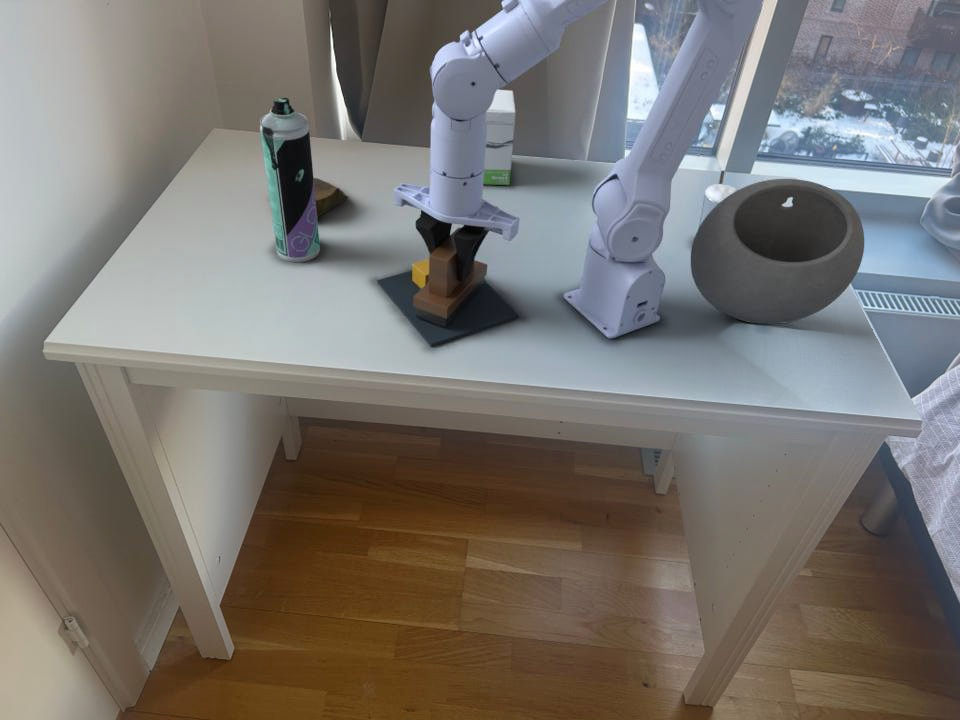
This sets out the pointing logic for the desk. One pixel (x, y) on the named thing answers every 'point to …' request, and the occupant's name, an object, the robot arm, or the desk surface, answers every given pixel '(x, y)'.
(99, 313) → the desk surface
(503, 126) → the ink box
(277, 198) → the spray can
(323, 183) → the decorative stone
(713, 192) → the milkshake
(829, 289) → the planter
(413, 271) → the mustard wooden cube
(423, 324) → the mat
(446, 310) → the brush
